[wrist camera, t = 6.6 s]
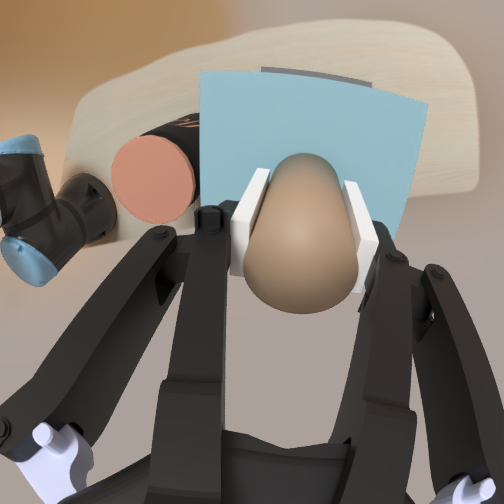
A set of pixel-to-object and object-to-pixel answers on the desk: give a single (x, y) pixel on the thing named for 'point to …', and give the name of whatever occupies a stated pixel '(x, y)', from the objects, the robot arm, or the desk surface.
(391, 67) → the desk surface
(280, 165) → the lid
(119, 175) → the coffee jar
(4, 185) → the robot arm
